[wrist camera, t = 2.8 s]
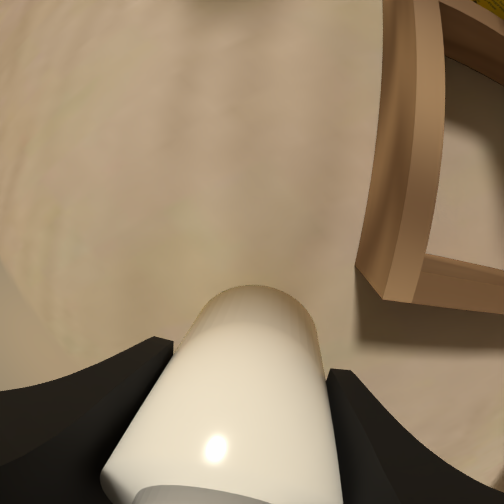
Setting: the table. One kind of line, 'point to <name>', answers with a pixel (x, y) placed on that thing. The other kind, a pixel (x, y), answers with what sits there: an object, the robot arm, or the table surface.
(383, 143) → the caddy
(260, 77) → the table surface
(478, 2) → the supplement bottle
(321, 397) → the shaker
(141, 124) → the table surface
